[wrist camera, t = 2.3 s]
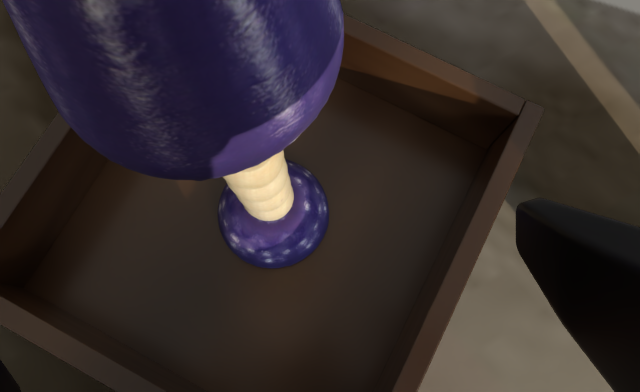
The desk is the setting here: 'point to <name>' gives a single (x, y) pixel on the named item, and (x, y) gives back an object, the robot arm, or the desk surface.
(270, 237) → the toy lamp
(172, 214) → the wooden tray
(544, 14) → the desk surface
